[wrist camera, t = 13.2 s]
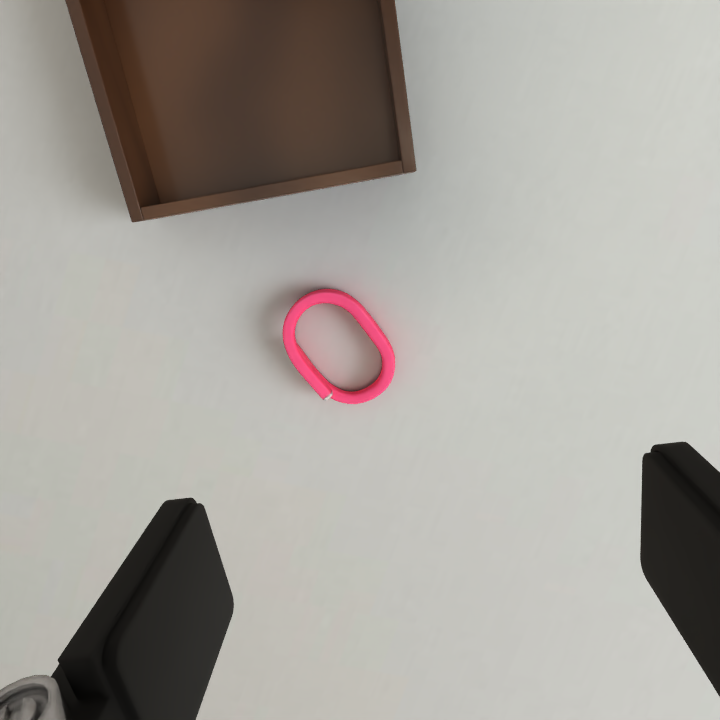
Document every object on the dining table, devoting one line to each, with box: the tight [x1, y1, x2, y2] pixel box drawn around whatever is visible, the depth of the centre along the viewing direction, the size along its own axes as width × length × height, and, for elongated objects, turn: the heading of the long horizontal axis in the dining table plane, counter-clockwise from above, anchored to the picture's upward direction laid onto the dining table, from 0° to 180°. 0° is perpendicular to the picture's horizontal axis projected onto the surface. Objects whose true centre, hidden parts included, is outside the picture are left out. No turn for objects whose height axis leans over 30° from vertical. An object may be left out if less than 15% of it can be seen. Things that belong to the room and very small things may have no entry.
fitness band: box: [283, 289, 395, 404], centre depth 33 cm, size 8×6×2 cm
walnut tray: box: [65, 0, 416, 222], centre depth 27 cm, size 16×13×3 cm
